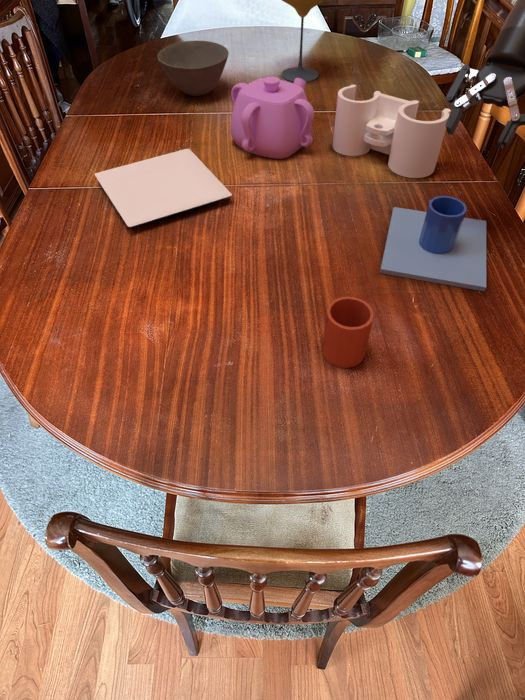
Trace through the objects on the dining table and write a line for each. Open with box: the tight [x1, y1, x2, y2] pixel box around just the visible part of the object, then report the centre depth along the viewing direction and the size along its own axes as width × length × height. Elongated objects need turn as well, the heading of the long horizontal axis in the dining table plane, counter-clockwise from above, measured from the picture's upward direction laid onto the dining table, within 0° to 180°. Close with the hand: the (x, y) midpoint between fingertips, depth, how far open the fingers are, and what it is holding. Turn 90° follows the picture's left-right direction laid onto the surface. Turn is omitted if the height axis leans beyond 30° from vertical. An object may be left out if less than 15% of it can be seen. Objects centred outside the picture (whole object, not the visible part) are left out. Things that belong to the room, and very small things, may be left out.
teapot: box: [230, 75, 315, 160], centre depth 118 cm, size 19×21×14 cm
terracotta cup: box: [321, 296, 375, 369], centre depth 75 cm, size 7×7×8 cm
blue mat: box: [379, 206, 487, 292], centre depth 95 cm, size 18×20×1 cm
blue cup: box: [419, 195, 468, 254], centre depth 91 cm, size 6×6×8 cm
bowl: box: [157, 40, 230, 97], centre depth 137 cm, size 19×19×10 cm
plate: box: [94, 148, 233, 228], centre depth 107 cm, size 22×22×2 cm
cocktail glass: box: [281, 0, 327, 83], centre depth 139 cm, size 18×18×25 cm
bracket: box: [332, 84, 452, 179], centre depth 113 cm, size 25×10×12 cm, turn 54°
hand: (473, 139), depth 83 cm, fingers open, 8 cm apart
